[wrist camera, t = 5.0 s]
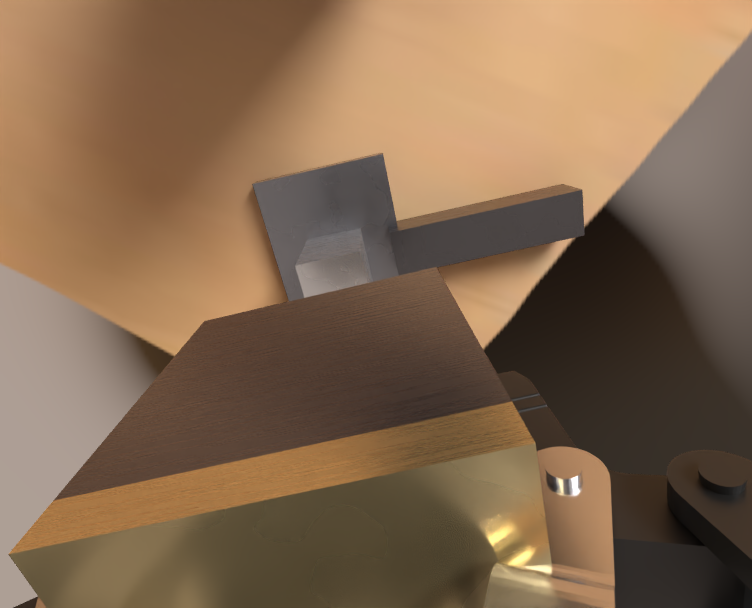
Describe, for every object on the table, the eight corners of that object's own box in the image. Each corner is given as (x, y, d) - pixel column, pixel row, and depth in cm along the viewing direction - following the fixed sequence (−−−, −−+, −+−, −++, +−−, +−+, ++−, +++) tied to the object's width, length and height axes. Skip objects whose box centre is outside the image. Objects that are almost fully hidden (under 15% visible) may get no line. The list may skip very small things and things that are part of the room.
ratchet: (256, 181, 25) (225, 198, 19) (558, 111, 24) (618, 107, 18) (305, 342, 28) (292, 395, 23) (569, 286, 27) (622, 327, 22)
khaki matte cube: (204, 321, 11) (8, 554, 5) (436, 267, 11) (535, 442, 5) (276, 500, 14) (201, 824, 7) (473, 459, 13) (577, 759, 7)
